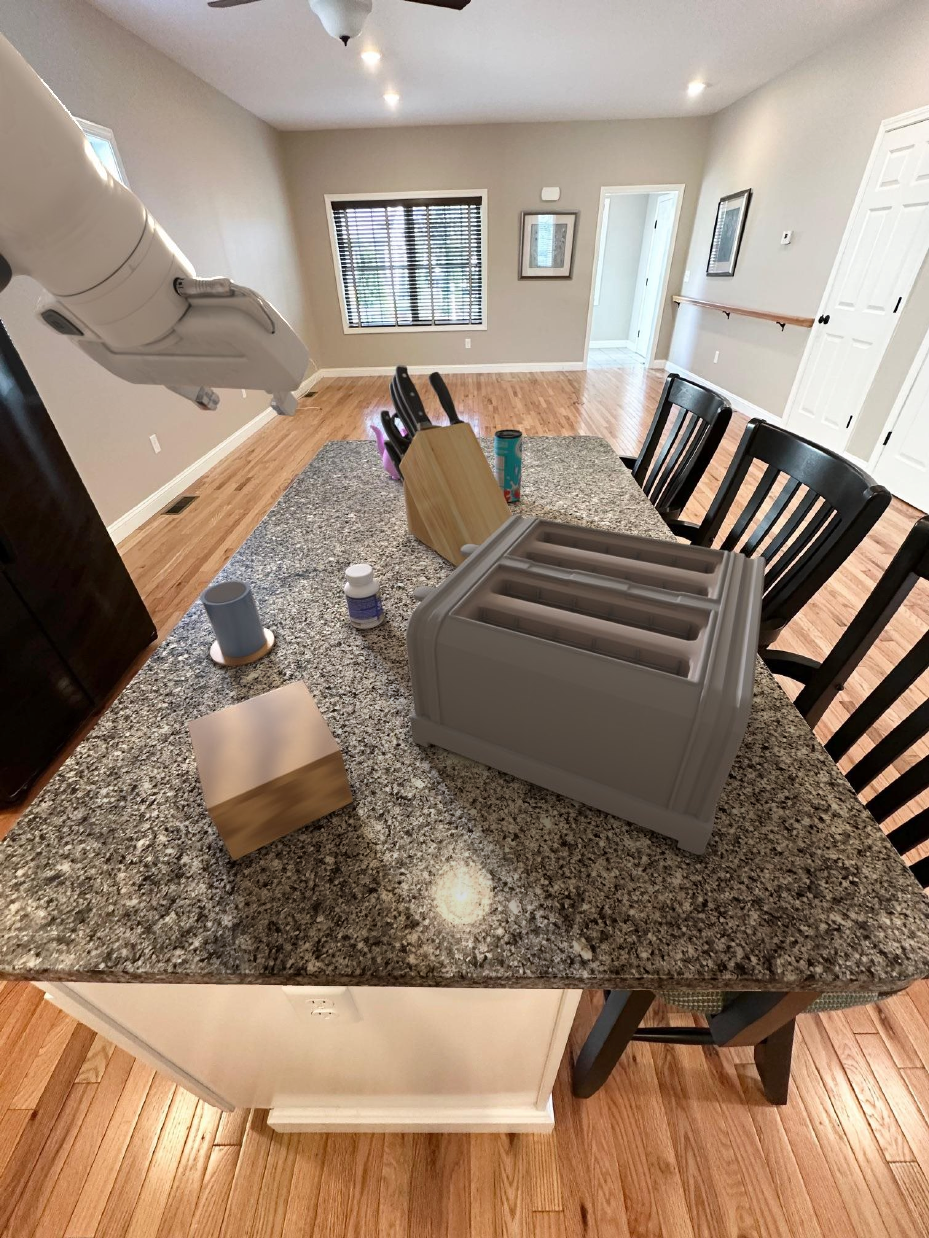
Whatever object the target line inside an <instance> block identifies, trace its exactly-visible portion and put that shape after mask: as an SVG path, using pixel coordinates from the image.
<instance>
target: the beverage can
mask: <svg viewBox="0 0 929 1238" xmlns="http://www.w3.org/2000/svg"><path fill="white" fill-rule="evenodd" d="M522 458H523V432H522V431H521V430H518V429H512V428H511V429H508V428H507V429H500V430H497V431H495V432H494V476H495V478H496V480H497V483H498V485H499V487H500V489H501V491H502V493H503V495H504V498H505V500H506V502H507V504H508V505H511V504H515V503H517V502H519V501H520V499H521V493H522V492H521V489H522V465H523V464H522V460H523V459H522Z"/></svg>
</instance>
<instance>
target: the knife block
mask: <svg viewBox="0 0 929 1238" xmlns="http://www.w3.org/2000/svg"><path fill="white" fill-rule="evenodd" d="M408 369H409V368H408V366H407V365H405V364H397V365H396V366H395V370H394V372H395V374H393V375H392V380H391V381H390V382H389V386H388V389H389V396H390V399H391V402H392V406H393V407H394V411H395V412H394V413H393V414H392V415H390V411H389V410H386V409H383V410H380V412H379V413H380V414H379V418H380V423H381V425H382V428H383V431H384V432H385V434H386V437H387V438H388V439H387V440H384V447H385V449H386V450H387V452H388V454H389V456H390V458H391V460H392V463H393V465H394V467H395V469H396V471H397V473H398V475H399V477H400V480H401V483H402V486H403V496H404V505H405V514H406V523H407V531H408V533H409V534H411V535H412V536H413V537H415V538H416V539H418V540H419V541H421V542H422V543H423V544H425V545H426V546H428V547H430V548H431V549H432V550H434V551H436V552H437V553H438V554H439V555H440V556H442V557H443V558H444V559H446V560H447V561H448V562H450V563H451V564H453V565H454V566H455V567H456V568H458V567H459V566H460V565H461V564H462V563H463V562H464V561H465V560H466V559H467V558H468V557H466V556H463V555H462V554H461V548H462V547H463V546H464V545H467V544H474V545H479V546H481V545H482V544H483V543H484V542H485V541H486V540H487V539H488V538H489V537H490V536H491V535H493V534H494V533H495V532H496V531H497V530H498V529H499V528H500V527H501V526H502V525H503V524H504V523H505V522H506V521H507V520H508V519H509V518H510V517H512V516H513V515H514V514H513V513H512V511H511V509H510V507H509V504H507V502H506V500H505V498H504V495H503V493H502V491H501V489H500V487H499V485H498V483H497V480H496V478H495V473H494V472H493V469H492V468H491V466H490V463H489V461H488V460H487V456H486V454H485V453H484V451H483V450H484V449H482V446H481V444H480V442H479V439H478V437H477V435H476V433H475V431H474V429H473V427H472V424H471V423H470V422H468V421H464V420H462V419H460V417H459V415H458V414H457V413H458V412H457V411H456V407H455V404H454V401H453V398H452V395H451V392H450V391H449V388H448V386H447V385H446V382H445V380H444V379H443V377H442V376H441V373H440V372H438V371H434V372H431V373H430V374H429V376H428V382H429V385H430V386H431V388H432V389H433V391H434V393H435V394H436V396H437V398H438V401H439V403H440V406H441V408H442V410H443V411H444V412H445V414H446V416H447V418H448V421H449V425H445V426H442V425H437V424H433V422H432V421H431V418H429V415H428V414H427V412H426V409H425V406H424V404H423V401H422V398H421V396H420V394H419V391H418V389H417V386H416V385H415V384H414V382H413V380H412V378H411V377H410V375H409V372H408ZM396 419H399V420H400V423H401V424H402V426H403V427H405V429H406V431H407V434H406V435H404V436H402V434H401V433H400V431H401V430H400V429H399V427H398V426H397V425H396ZM389 440H390V441H389Z"/></svg>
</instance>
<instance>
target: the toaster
mask: <svg viewBox="0 0 929 1238" xmlns="http://www.w3.org/2000/svg"><path fill="white" fill-rule="evenodd" d="M512 515H513V516H512V517H510V518H509V519H508V520H507V521H506V522H505V523H504V524H503V525H502V526H501V527H500V528H499V529H498V530H497V531H496V532H495V533H494V534H493V535H491V536H490V537H489V538H488V539H487V540H486V541H485V542H484V543H483V544H482V545H481V546H479V545H474V544H467V545H464V546H463V547H462V548H461V554H462V555H463V556H466V557H468V558H467V559H466V560H465V561H464V562H463V563H462V564H461V565H460V566H459V567H456V568H455V569H454V570H453V571H452V572H451V573H450V574H449V575H448V576H447V577H446V578H445V579H444V580H442V582H440V584H438V586H436V587H433V586H429V585H421V586H418V587H416V588H415V589H414V590H413V591H412V592H413V593H412V594H413V595H412V597H413V599H414V600H415V601H417V602H420V603H418V604H417V606H416V607H415V608H414V610H413V611H412V612H411V614H410V616H409V619H408V622H407V626H406V629H405V645H406V652H407V654H406V655H407V660H408V662H407V663H408V668H409V670H408V671H409V678H410V684H411V685H410V686H411V693H412V701H413V707H414V708H413V712H411V714H410V717H409V720H410V721H409V722H410V728H411V736H412V737H411V738H412V741H413V743H415V744H417V745H420V746H423V747H425V748H429V746H430V745H433V746H436V747H439V748H442V749H445V750H447V751H449V752H452V753H454V754H458V755H460V756H462V757H464V758H467V759H471V760H473V761H475V762H477V763H480V764H483V765H485V766H487V767H490V768H493V769H496V770H498V771H500V772H503V773H506V774H507V775H512V776H514V777H516V778H518V779H520V780H523V781H526V782H528V783H531V784H533V785H536V786H538V787H540V788H544V789H545V790H548V791H552V792H554V793H556V794H558V795H562V796H564V797H567V798H569V799H572V800H574V801H577V802H579V803H582V804H584V805H587V806H590V807H591V808H595V809H598V810H600V811H602V812H605V813H607V814H610V815H613V816H615V817H617V818H620V819H623V820H625V821H628V822H631V823H632V824H636V825H638V826H641V827H643V828H645V829H648V830H651V831H653V832H655V833H658V834H661V835H663V836H666V837H668V838H671V839H673V840H676V841H677V848H678V849H681V850H684V851H686V852H689V853H692V854H694V855H697V856H702V855H703V853H704V852H705V850H706V847H707V845H708V843H709V840H710V838H711V835H712V833H713V831H714V825H715V819H716V811H717V806H718V805H717V804H718V802H719V799H720V797H721V794H722V792H723V789H724V787H725V784H726V783H727V780H728V777H729V774H730V772H731V770H732V768H733V765H734V762H735V760H736V757H737V755H738V753H739V751H740V748H741V745H742V743H743V740H744V737H745V734H746V730H747V727H748V724H749V720H750V715H751V712H752V707H753V702H754V701H753V700H754V691H755V681H756V670H757V659H758V649H759V639H760V638H759V637H760V630H761V629H760V628H761V617H762V605H763V595H764V586H765V575H766V574H765V573H766V563H767V560H766V559H765V557H764V556H760V555H759V556H756V557H754V558H750V557H747V556H746V555H745V553H741V552H736V551H735V550H732V551H729V550H723V549H716V548H711V547H705V546H699V545H694V544H688V543H681V542H677V541H670V540H664V539H659V538H653V537H648V536H642V535H636V534H632V533H625V532H619V531H613V530H608V529H602V528H596V527H591V526H585V525H579V524H573V523H567V522H561V521H555V520H550V519H544V518H541V517H540V516H536V517H534V516H527V517H526V518H524V517H523V516H522V515H521V514H512Z"/></svg>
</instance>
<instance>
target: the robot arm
mask: <svg viewBox="0 0 929 1238" xmlns="http://www.w3.org/2000/svg"><path fill="white" fill-rule="evenodd" d="M94 149H95V148H94V147H93V146H92V143H91V142H90V140H89V138H88V136H87V135H86V133H85V131H84V129H83V128H82V126H81V125H80V124H79V123H78V121H76V118H74V117H73V116H72V114H71V113H70V111H68V109H67V108H66V106H65V105H64V104H63V103H62V102H61V100H59V98H58V97H57V96H56V94H54V92H53V91H52V90H51V89H50V87H49V86H48V85H47V84H46V83H45V81H44V80H43V79H42V78H41V77H40V76H39V75H38V73H37V72H36V71H35V69H34V68H33V67H32V66H31V65H30V64H29V63H28V61H27V60H26V59H25V58H24V57H23V56H22V55H21V53H20V52H19V51H18V50H17V49H16V48H15V46H14V45H12V43H11V42H10V41H9V40H8V39H7V37H6V36H5V35H4V34H3V33H2V32H1V31H0V294H1V293H2V292H4V290H5V289H6V288H7V287H8V286H9V284H10V282H11V281H12V279H13V278H14V277H18V276H27V277H30V278H32V279H33V280H35V281H36V282H37V283H38V284H40V285H41V286H42V287H43V289H42V292H41V293H40V295H39V298H38V300H37V302H36V305H35V307H34V310H33V311H32V314H33V317H34V318H35V319H36V320H37V321H38V322H39V323H40V324H42V325H43V326H44V327H46V328H47V329H48V330H49V331H51V332H53V333H55V334H56V335H60V336H66V338H67V340H69V341H70V342H71V343H72V344H73V345H74V346H75V347H76V348H78V349H79V350H80V351H81V352H83V353H84V354H86V355H87V357H89V358H90V359H92V360H93V361H94V362H95V363H97V364H98V365H99V366H101V367H103V369H105V370H106V371H108V372H109V373H110V374H112V375H113V376H115V377H117V378H118V379H121V380H123V381H126V382H128V383H130V384H133V385H147V386H164V387H165V389H167V390H169V391H170V392H172V393H174V394H177V395H178V396H180V397H182V398H184V399H186V400H188V401H190V402H192V403H193V404H194V406H196V407H197V408H198V409H200V410H201V411H210V412H211V411H212V412H213V411H214V412H215V411H216V410H217V408H218V405H219V403H220V401H221V399H220V396H219V394H218V393H216V392H215V391H214V389H228V390H229V389H232V390H253V391H264V392H265V393H266V394H267V395H273V397H272V398H271V400H270V402H269V406H270V407H271V409H272V410H273V411H275V412H276V414H277V415H278V416H283V417H284V416H285V417H293V416H295V414H296V411H297V408H298V406H299V405H298V404H299V402H298V400H297V398H296V397H295V395H294V394H293V393H294V392H297V391H298V390H299V389H300V388H301V385H302V383H303V380H305V379H304V378H305V376H306V374H307V371H308V368H309V364H310V358H311V355H310V351H309V348H308V347H307V346H306V344H305V343H304V341H303V340H302V339H301V337H300V336H299V335H298V334H297V332H295V330H294V329H293V328H292V326H291V325H290V324H289V323H288V322H287V320H285V318H284V317H283V316H282V315H281V314H280V312H279V311H278V310H277V309H276V308H275V307H274V306H273V305H272V304H271V303H270V302H269V301H268V300H267V299H266V298H265V297H263V295H261V294H260V293H259V292H258V291H256V290H253V289H252V288H250V287H247V286H243V285H239V284H236V283H234V281H233V280H232V279H231V278H228V277H224V276H215V277H212V278H201V277H197V273H196V270H195V267H194V266H193V263H191V261H190V260H189V259H188V258H187V256H186V255H185V254H184V253H183V252H182V250H181V249H180V248H179V246H178V245H177V244H176V243H175V242H174V240H173V239H172V238H171V236H170V235H169V234H168V233H167V232H166V231H165V229H164V228H163V227H162V226H161V224H160V223H159V221H157V220H156V218H155V217H154V216H153V215H152V213H151V212H150V211H149V209H148V208H147V207H146V206H145V204H144V203H143V202H142V201H141V200H140V199H139V197H138V196H137V195H136V194H135V193H134V192H133V191H132V190H130V188H128V187H127V186H126V185H125V184H123V182H121V181H119V180H118V179H117V178H116V177H115V176H114V175H113V174H112V173H111V172H110V171H109V170H108V168H107V166H105V164H103V162H102V160H101V159H100V157H99V156H98V155H97V152H96V151H95V150H94ZM212 388H213V389H212ZM292 392H293V393H292Z"/></svg>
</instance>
